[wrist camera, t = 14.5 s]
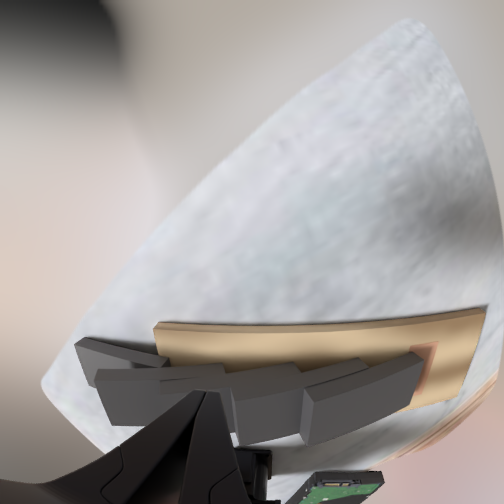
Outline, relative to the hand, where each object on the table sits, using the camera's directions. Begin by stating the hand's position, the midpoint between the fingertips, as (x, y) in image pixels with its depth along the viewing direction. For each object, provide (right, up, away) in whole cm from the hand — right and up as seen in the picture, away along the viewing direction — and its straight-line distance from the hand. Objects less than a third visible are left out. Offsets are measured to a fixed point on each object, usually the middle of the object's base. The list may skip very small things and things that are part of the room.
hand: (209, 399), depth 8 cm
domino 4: (+10, -6, +11) cm, 16 cm away
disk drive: (+12, -30, +19) cm, 38 cm away
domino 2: (-1, -6, +12) cm, 14 cm away
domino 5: (+15, -6, +11) cm, 19 cm away
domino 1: (-5, -6, +13) cm, 15 cm away
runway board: (+8, -6, +14) cm, 17 cm away
